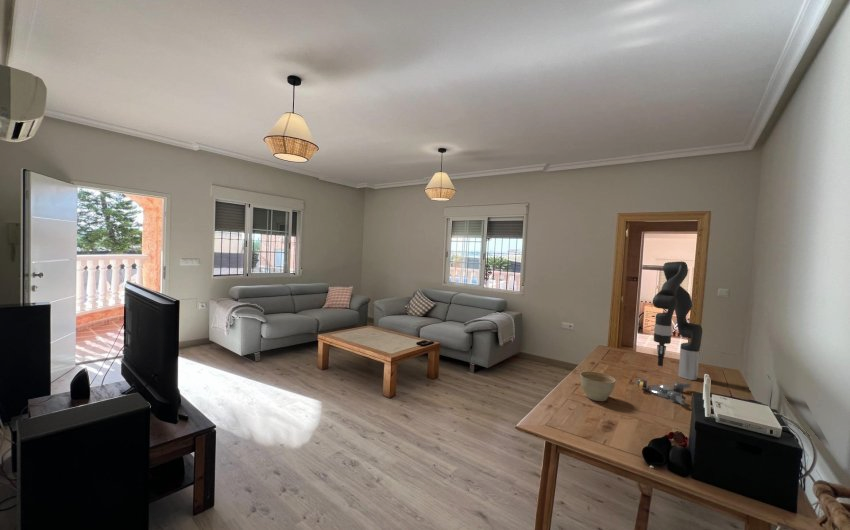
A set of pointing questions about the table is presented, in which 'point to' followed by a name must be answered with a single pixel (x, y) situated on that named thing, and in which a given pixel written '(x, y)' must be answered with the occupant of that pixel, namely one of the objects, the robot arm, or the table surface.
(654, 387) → the base
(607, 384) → the planter bowl
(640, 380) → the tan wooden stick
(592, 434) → the table surface
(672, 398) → the knob
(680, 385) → the grey bar with ball
